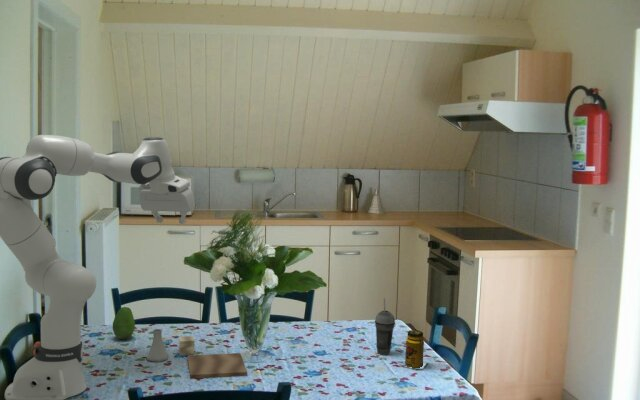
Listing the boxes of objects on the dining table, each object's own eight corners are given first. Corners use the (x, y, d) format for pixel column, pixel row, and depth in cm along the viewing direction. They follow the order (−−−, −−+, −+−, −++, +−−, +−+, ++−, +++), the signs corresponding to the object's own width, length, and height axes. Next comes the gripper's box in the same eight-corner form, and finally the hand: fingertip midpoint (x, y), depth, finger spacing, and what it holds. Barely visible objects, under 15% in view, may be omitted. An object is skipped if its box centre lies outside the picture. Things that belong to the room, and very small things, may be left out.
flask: (162, 363, 230) (163, 334, 229) (142, 361, 231) (142, 332, 230) (171, 356, 237) (171, 328, 236) (152, 354, 238) (152, 326, 237)
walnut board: (190, 378, 217) (190, 374, 217) (187, 359, 235) (187, 355, 234) (247, 375, 221) (247, 371, 221) (240, 356, 239) (240, 353, 239)
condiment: (401, 367, 234) (402, 332, 232) (408, 359, 241) (410, 326, 240) (421, 371, 231) (423, 336, 229) (428, 363, 238) (430, 329, 237)
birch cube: (179, 355, 238) (179, 341, 238) (179, 350, 243) (179, 336, 243) (194, 354, 239) (194, 340, 239) (193, 349, 244) (193, 336, 244)
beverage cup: (378, 357, 242) (381, 302, 240) (369, 350, 249) (372, 297, 247) (397, 355, 245) (399, 300, 243) (387, 349, 252) (390, 295, 249)
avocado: (139, 338, 255) (139, 306, 253) (123, 343, 248) (123, 311, 247) (123, 334, 259) (123, 302, 257) (107, 339, 252) (107, 307, 251)
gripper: (132, 186, 230) (140, 225, 235) (182, 187, 222) (191, 227, 226) (143, 180, 235) (152, 218, 240) (193, 181, 227) (201, 220, 232)
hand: (171, 222), depth 233 cm, fingers open, 8 cm apart
